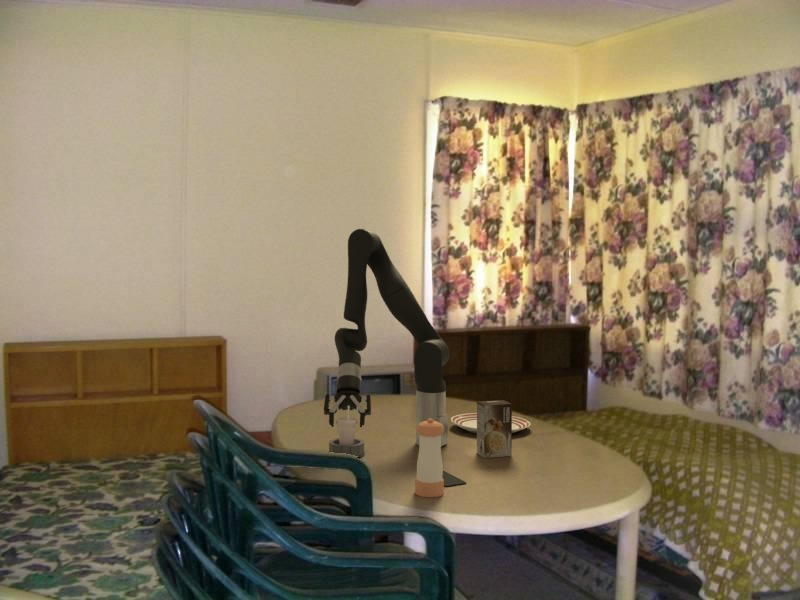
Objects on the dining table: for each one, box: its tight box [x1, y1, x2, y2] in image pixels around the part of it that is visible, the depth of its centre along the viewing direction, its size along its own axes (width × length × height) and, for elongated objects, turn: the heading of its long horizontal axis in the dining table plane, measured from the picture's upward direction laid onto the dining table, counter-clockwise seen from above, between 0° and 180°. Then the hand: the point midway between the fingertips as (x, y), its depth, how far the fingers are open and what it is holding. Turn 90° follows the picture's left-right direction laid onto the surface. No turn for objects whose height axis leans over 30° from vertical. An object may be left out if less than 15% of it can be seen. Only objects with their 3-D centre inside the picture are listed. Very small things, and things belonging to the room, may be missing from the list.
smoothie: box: [335, 406, 358, 445], centre depth 234 cm, size 6×6×14 cm
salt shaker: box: [414, 418, 445, 498], centre depth 198 cm, size 7×7×19 cm
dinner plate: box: [450, 412, 532, 434], centre depth 270 cm, size 28×27×3 cm
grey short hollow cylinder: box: [328, 437, 366, 458], centre depth 235 cm, size 11×11×4 cm
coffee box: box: [476, 399, 513, 459], centre depth 236 cm, size 9×6×16 cm
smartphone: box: [442, 470, 467, 488], centre depth 212 cm, size 7×1×15 cm
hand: (346, 425), depth 233 cm, fingers open, 8 cm apart
